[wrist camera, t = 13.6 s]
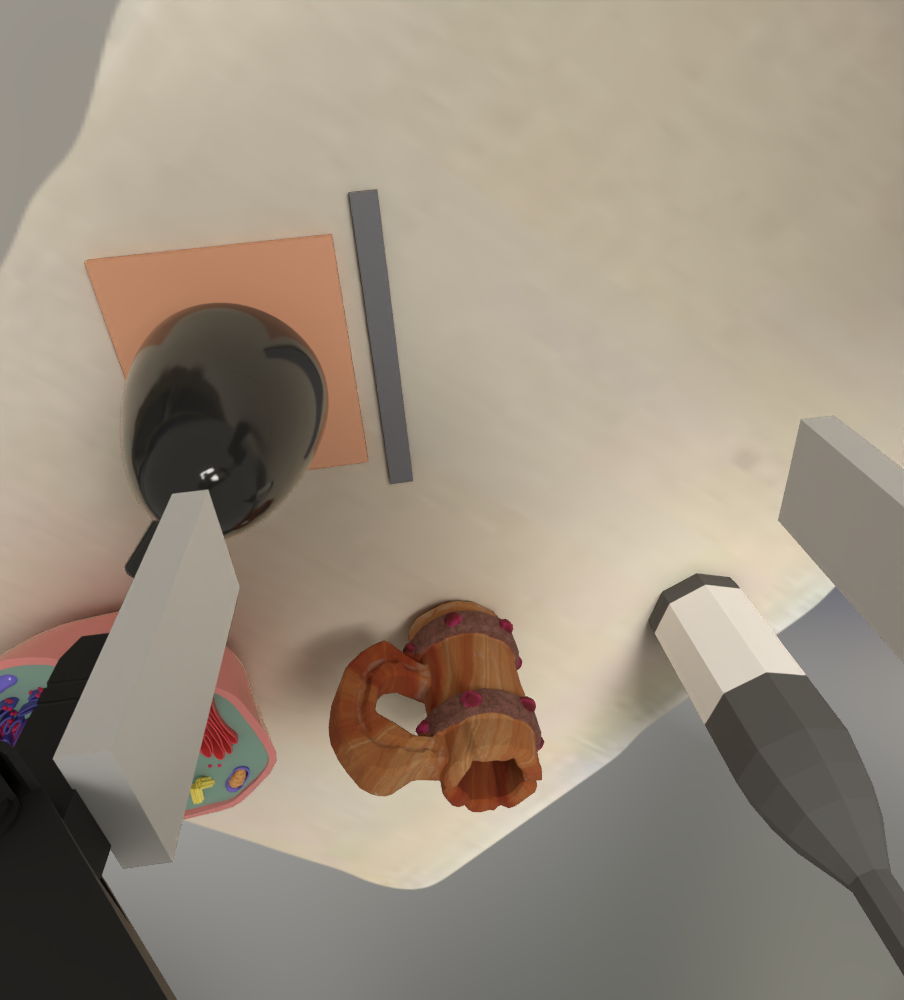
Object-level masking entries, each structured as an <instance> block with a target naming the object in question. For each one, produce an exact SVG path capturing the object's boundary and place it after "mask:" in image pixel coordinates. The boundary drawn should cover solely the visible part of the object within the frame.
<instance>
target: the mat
mask: <svg viewBox="0 0 904 1000" xmlns="http://www.w3.org/2000/svg"><path fill="white" fill-rule="evenodd" d="M84 263H85V266H86V269H87V272H88V274H89V277H90V280H91V283H92V286H93V289H94V291H95V294H96V297H97V300H98V303H99V306H100V308H101V311H102V314H103V317H104V320H105V322H106V325H107V328H108V331H109V334H110V337H111V339H112V342H113V345H114V348H115V351H116V354H117V356H118V359H119V362H120V365H121V368H122V371H123V373H124V376H125V379H126V380H127V377H128V373H129V370H130V367H131V364H132V362H133V359H134V357H135V355H136V353H137V351H138V349H139V348H140V346H141V344H142V343H143V341H144V340H145V339H146V337H147V336H148V335H149V333H150V332H151V331H152V330H153V329H154V328H155V327H156V326H157V325H158V324H160V323H161V322H162V321H163V320H165V319H166V318H168V317H169V316H171V315H173V314H174V313H176V312H179V311H181V310H183V309H186V308H189V307H192V306H196V305H200V304H207V303H234V304H240V305H245V306H249V307H253V308H256V309H259V310H261V311H264V312H266V313H268V314H270V315H272V316H274V317H276V318H278V319H279V320H281V321H283V322H284V323H286V324H287V325H288V326H290V327H291V328H292V329H293V330H295V331H296V332H297V333H298V334H299V335H300V336H301V337H302V338H303V339H304V340H305V341H306V343H307V344H308V345H309V346H310V348H311V349H312V350H313V352H314V353H315V355H316V357H317V359H318V360H319V362H320V364H321V367H322V369H323V372H324V374H325V378H326V382H327V387H328V394H329V409H328V418H327V423H326V427H325V431H324V434H323V437H322V440H321V442H320V445H319V447H318V450H317V452H316V454H315V456H314V458H313V460H312V462H311V464H310V466H309V468H308V469H307V470H309V469H317V468H325V467H332V466H340V465H348V464H356V463H363V462H368V456H367V450H366V444H365V437H364V431H363V425H362V419H361V412H360V406H359V400H358V394H357V388H356V381H355V375H354V369H353V363H352V356H351V350H350V344H349V338H348V332H347V325H346V319H345V313H344V307H343V301H342V294H341V288H340V282H339V276H338V269H337V263H336V257H335V251H334V245H333V238H332V234H328V235H318V236H309V237H299V238H290V239H280V240H271V241H261V242H252V243H242V244H233V245H223V246H214V247H204V248H195V249H185V250H176V251H166V252H157V253H147V254H138V255H128V256H118V257H109V258H99V259H90V260H87V261H85V262H84Z"/></svg>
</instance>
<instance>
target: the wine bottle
mask: <svg viewBox="0 0 904 1000" xmlns="http://www.w3.org/2000/svg"><path fill="white" fill-rule="evenodd" d="M649 622H650V625H651V627H652V629H653V631H654V633H655V635H656V637H657V639H658V640H659V642H660V644H661V646H662V648H663V649H664V651H665V653H666V655H667V657H668V659H669V660H670V662H671V664H672V666H673V668H674V670H675V671H676V673H677V675H678V677H679V679H680V680H681V682H682V684H683V686H684V688H685V690H686V691H687V693H688V695H689V697H690V699H691V700H692V702H693V704H694V706H695V708H696V709H697V711H698V713H699V715H700V717H701V719H702V721H703V722H704V724H705V726H706V728H707V730H708V732H709V733H710V735H711V737H712V739H713V741H714V742H715V744H716V746H717V748H718V750H719V752H720V753H721V755H722V757H723V759H724V761H725V762H726V764H727V766H728V768H729V770H730V772H731V773H732V775H733V777H734V779H735V781H736V783H737V784H738V786H739V787H740V789H741V790H742V792H743V793H744V795H745V796H746V798H747V799H748V801H749V802H750V804H751V805H752V806H753V808H754V809H755V810H756V811H757V812H758V813H759V815H760V816H761V817H762V818H763V819H764V820H765V822H766V823H767V824H768V825H769V826H770V828H771V829H772V830H773V831H774V832H775V833H777V834H778V835H779V836H780V837H781V838H782V839H783V840H784V841H785V842H786V843H787V844H788V845H790V846H791V847H792V848H793V849H794V850H795V851H796V852H797V853H798V854H800V855H801V856H803V857H804V858H805V859H807V860H808V861H810V862H811V863H813V864H814V865H815V866H817V867H818V868H820V869H821V870H823V871H824V872H826V873H827V874H829V875H830V876H831V877H833V878H834V879H836V880H837V881H838V882H839V883H841V884H842V885H843V886H845V887H846V888H847V889H849V890H850V891H851V892H853V894H854V896H855V897H856V899H857V900H858V902H859V904H860V905H861V907H862V909H863V910H864V912H865V913H866V915H867V917H868V918H869V920H870V921H871V923H872V925H873V926H874V928H875V930H876V931H877V933H878V934H879V936H880V938H881V939H882V941H883V943H884V944H885V946H886V948H887V949H888V951H889V952H890V954H891V956H892V957H893V959H894V960H895V962H896V964H897V965H898V967H899V969H900V970H901V972H902V974H903V975H904V891H903V890H902V888H901V887H900V885H899V884H898V883H897V881H896V880H895V878H894V877H893V875H892V874H891V870H890V864H889V859H888V852H887V845H886V838H885V832H884V831H885V830H884V823H883V817H882V813H881V810H880V807H879V803H878V800H877V797H876V794H875V791H874V787H873V785H872V782H871V780H870V778H869V775H868V773H867V771H866V769H865V766H864V764H863V762H862V760H861V757H860V755H859V753H858V751H857V749H856V747H855V745H854V743H853V740H852V738H851V736H850V734H849V732H848V730H847V728H846V727H845V726H844V725H843V723H842V722H841V721H840V719H839V718H838V717H837V715H836V714H835V713H834V711H833V710H832V709H831V707H830V706H829V705H828V704H827V702H826V701H825V700H824V698H823V697H822V696H821V694H820V693H819V692H818V690H817V689H816V688H815V686H814V685H813V684H812V683H811V681H810V680H809V678H808V677H807V676H806V675H805V673H804V672H803V671H802V669H801V668H800V667H799V665H798V664H797V663H796V661H795V660H794V659H793V658H792V656H791V655H790V653H789V652H788V651H787V650H786V648H785V647H784V646H783V644H782V643H781V642H780V640H779V639H778V638H777V636H776V635H775V634H774V632H773V631H772V630H771V628H770V627H769V626H768V625H767V623H766V622H765V621H764V619H763V618H762V617H761V615H760V614H759V613H758V611H757V610H756V609H755V607H754V606H753V605H752V603H751V602H750V601H749V600H748V598H747V597H746V596H745V594H744V593H743V592H742V590H741V589H740V588H739V587H738V585H737V584H736V583H735V582H734V581H733V580H732V579H731V578H730V577H722V576H713V575H705V574H695V575H693V576H691V577H689V578H688V579H686V580H684V581H682V582H680V583H678V584H676V585H674V586H673V587H671V588H669V589H667V590H665V591H663V592H662V594H661V596H660V598H659V600H658V602H657V604H656V606H655V609H654V611H653V613H652V615H651V617H650V619H649Z"/></svg>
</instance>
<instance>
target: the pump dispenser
mask: <svg viewBox="0 0 904 1000" xmlns="http://www.w3.org/2000/svg"><path fill="white" fill-rule="evenodd" d="M328 409H329V394H328V387H327V382H326V378H325V374H324V372H323V369H322V367H321V364H320V362H319V360H318V359H317V357H316V355H315V353H314V352H313V350H312V349H311V348H310V346H309V345H308V344H307V343H306V341H305V340H304V339H303V338H302V337H301V336H300V335H299V334H298V333H297V332H296V331H295V330H293V329H292V328H291V327H290V326H288V325H287V324H286V323H284V322H283V321H281V320H279V319H278V318H276V317H274V316H272V315H270V314H268V313H266V312H264V311H261V310H259V309H256V308H253V307H249V306H245V305H240V304H234V303H207V304H200V305H196V306H192V307H189V308H186V309H183V310H181V311H179V312H176V313H174V314H173V315H171V316H169V317H168V318H166V319H165V320H163V321H162V322H161V323H160V324H158V325H157V326H156V327H155V328H154V329H153V330H152V331H151V332H150V333H149V335H148V336H147V337H146V339H145V340H144V341H143V343H142V344H141V346H140V348H139V349H138V351H137V353H136V355H135V357H134V359H133V362H132V364H131V367H130V370H129V373H128V377H127V380H126V384H125V388H124V393H123V398H122V405H121V415H120V441H121V452H122V459H123V465H124V469H125V473H126V476H127V479H128V482H129V485H130V487H131V490H132V492H133V494H134V496H135V498H136V499H137V501H138V503H139V504H140V506H141V507H142V508H143V509H144V510H145V511H146V512H147V513H148V514H149V515H150V516H151V517H152V521H151V522H150V524H149V526H148V528H147V529H146V531H145V533H144V534H143V536H142V538H141V539H140V541H139V543H138V544H137V546H136V548H135V549H134V551H133V553H132V554H131V556H130V558H129V559H128V561H127V563H126V564H125V571H126V573H127V574H128V575H129V576H131V577H132V578H135V575H136V573H137V571H138V569H139V566H140V564H141V562H142V560H143V558H144V555H145V553H146V551H147V549H148V547H149V544H150V542H151V540H152V538H153V535H154V533H155V531H156V529H157V527H158V524H159V522H160V520H161V518H162V516H163V513H164V511H165V509H166V507H167V504H168V502H169V500H170V498H171V496H172V494H175V493H183V492H192V491H200V490H208V491H209V494H210V497H211V500H212V503H213V506H214V509H215V512H216V515H217V518H218V521H219V524H220V527H221V530H222V534H223V537H224V539H228V538H231V537H234V536H237V535H240V534H242V533H244V532H246V531H248V530H250V529H252V528H253V527H255V526H257V525H258V524H260V523H261V522H262V521H264V520H265V519H266V518H267V517H269V516H270V515H271V514H272V513H273V512H274V511H275V510H276V509H277V508H278V507H279V506H280V505H281V504H282V503H283V502H284V501H285V500H286V498H287V497H288V496H289V495H290V494H291V492H292V491H293V490H294V488H295V487H296V486H297V484H298V483H299V482H300V480H301V479H302V477H303V476H304V474H305V473H306V471H307V469H308V468H309V466H310V464H311V462H312V460H313V458H314V456H315V454H316V452H317V450H318V447H319V445H320V442H321V440H322V437H323V434H324V431H325V427H326V423H327V418H328Z"/></svg>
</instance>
